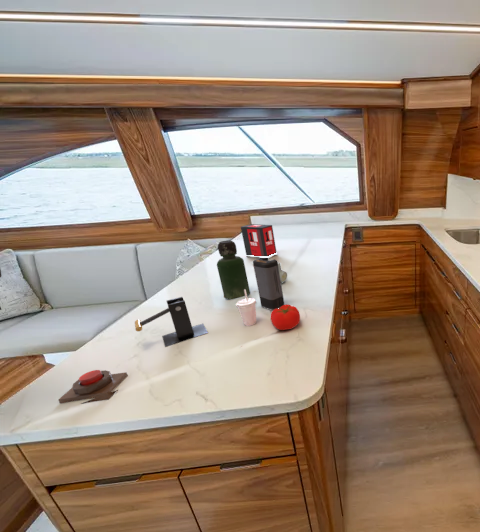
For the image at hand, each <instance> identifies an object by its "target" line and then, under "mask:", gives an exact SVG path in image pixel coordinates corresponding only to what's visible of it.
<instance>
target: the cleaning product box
mask: <svg viewBox="0 0 480 532" xmlns="http://www.w3.org/2000/svg"><path fill="white" fill-rule="evenodd" d="M273 228H274V227H273V225H272V224H254V223H251V224H246V225H242V226H240V230H241V235H242V239H243V244H244V250H245V256H246V255H254V256H269V255H271V254H274V253H276V252H277V246H276V240H275V234H274V229H273Z"/></svg>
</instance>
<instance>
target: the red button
mask: <svg viewBox="0 0 480 532" xmlns="http://www.w3.org/2000/svg"><path fill="white" fill-rule="evenodd" d="M101 371H102V370H100V369H93V370H90V371H88V372H86V373H84V374H82V375H80V376H79V378H78V380H79V381H80V383H81V385H82V386H84V385H89V384H92V383H95V382H97V381H99V380H101V379H102V378H103V375H102V373H101Z"/></svg>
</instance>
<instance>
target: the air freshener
mask: <svg viewBox="0 0 480 532" xmlns="http://www.w3.org/2000/svg"><path fill="white" fill-rule="evenodd" d="M277 262H278V268H279V274H280V280H281V284H283V283H284V282H285V281H286V280H287V279H288V272H287V271H285V270H283V269H282V265H281V262H279V261H277ZM282 282H283V283H282Z"/></svg>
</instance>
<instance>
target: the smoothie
mask: <svg viewBox="0 0 480 532" xmlns="http://www.w3.org/2000/svg"><path fill="white" fill-rule="evenodd" d="M244 292H245V296H244V297H245V298H242V299H239V300H237V302H236V303H235V306H236V308H237V309H238V311H239V314H240V316H241V319H242V322H243V325H244V326H247V327H249V326H253V325H255V324H256V323H257V309H256V308H257V307H256V304H257V300H256V298H254V297H248V295H247V293H246V289H245V290H244Z"/></svg>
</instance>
